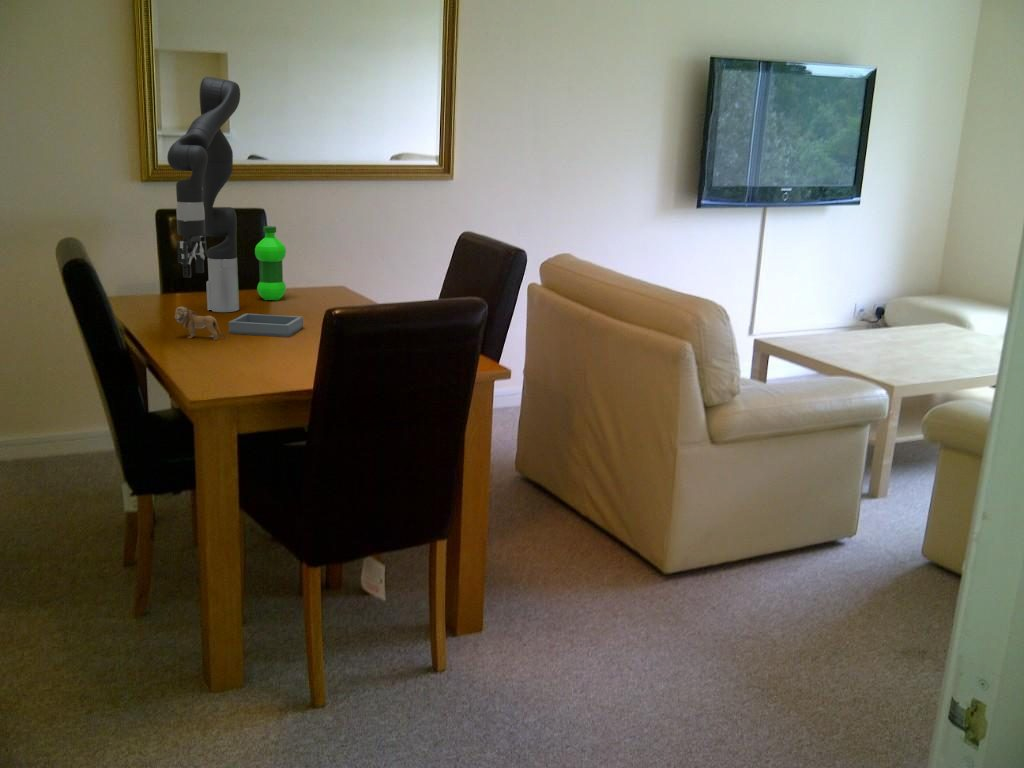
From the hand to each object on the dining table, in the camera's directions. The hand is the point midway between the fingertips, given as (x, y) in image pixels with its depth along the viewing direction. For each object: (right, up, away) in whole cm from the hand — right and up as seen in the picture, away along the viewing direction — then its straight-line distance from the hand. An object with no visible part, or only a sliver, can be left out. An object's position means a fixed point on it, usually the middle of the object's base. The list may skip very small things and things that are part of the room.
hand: (193, 275), depth 295 cm
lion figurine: (0, -18, +5) cm, 19 cm away
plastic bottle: (+7, -2, +64) cm, 65 cm away
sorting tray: (+17, -15, +16) cm, 28 cm away
